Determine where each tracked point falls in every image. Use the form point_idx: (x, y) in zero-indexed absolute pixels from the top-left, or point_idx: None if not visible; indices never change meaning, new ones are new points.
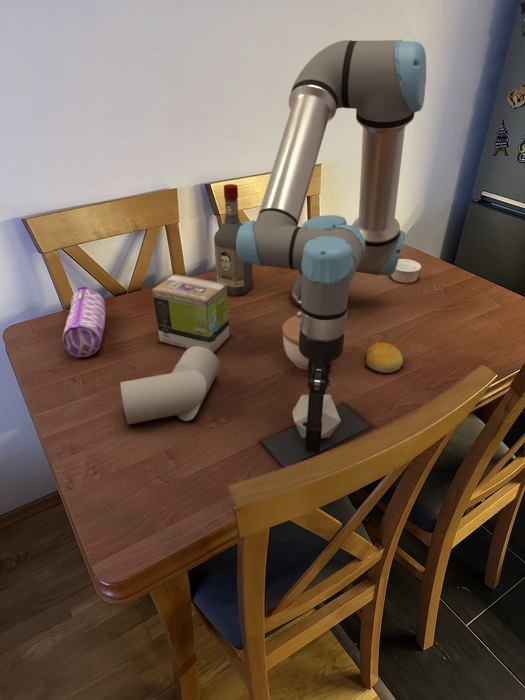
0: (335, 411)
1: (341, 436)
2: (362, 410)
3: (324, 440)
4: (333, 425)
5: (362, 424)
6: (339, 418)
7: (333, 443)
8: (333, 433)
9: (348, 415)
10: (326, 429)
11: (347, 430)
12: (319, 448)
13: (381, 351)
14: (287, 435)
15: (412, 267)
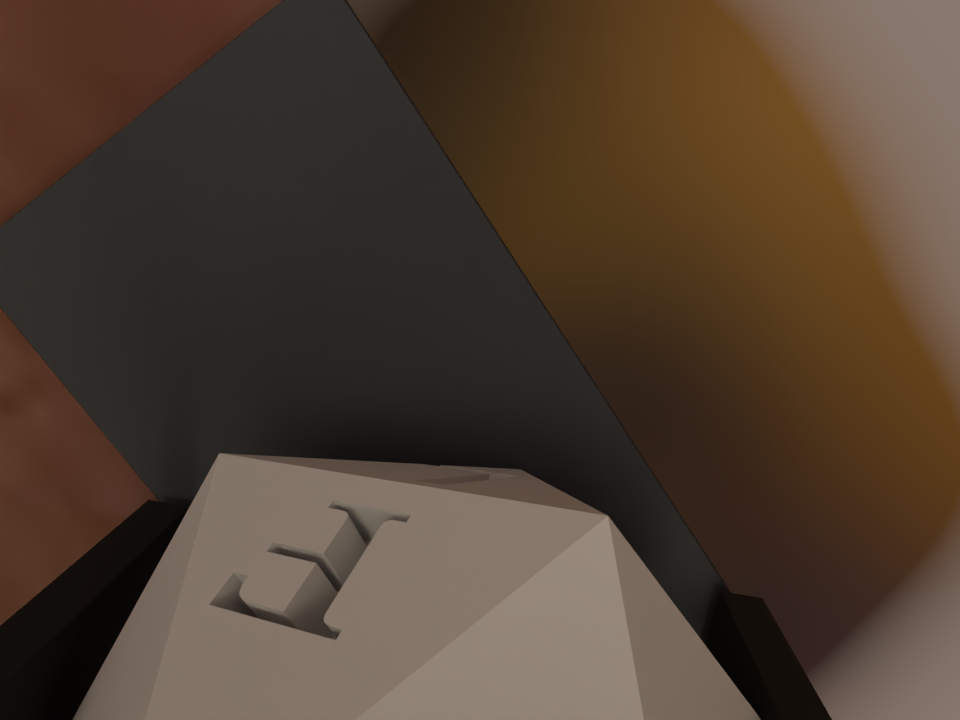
0: (485, 675)
1: (505, 342)
2: (23, 23)
3: None
4: (666, 613)
5: (291, 62)
6: (575, 551)
7: (616, 440)
8: (463, 423)
9: (150, 219)
10: (715, 694)
11: (408, 264)
12: (777, 634)
13: None
14: None
15: None
